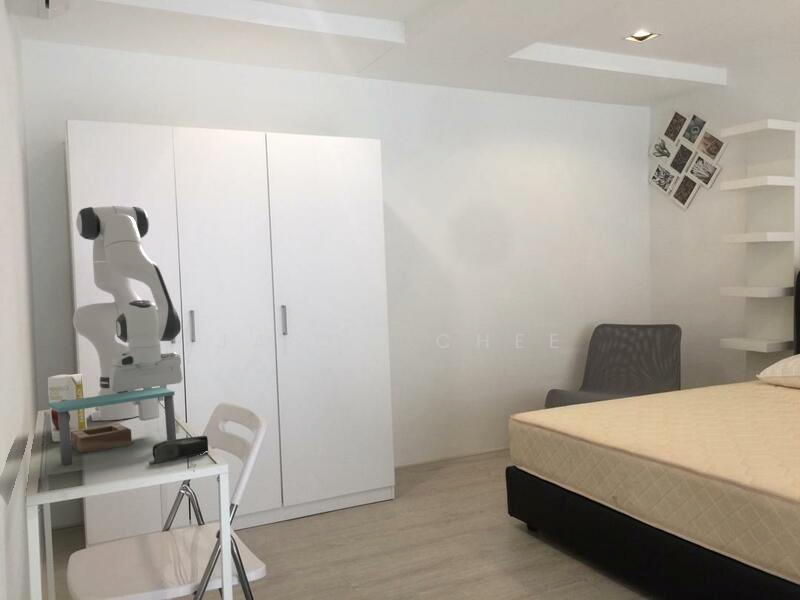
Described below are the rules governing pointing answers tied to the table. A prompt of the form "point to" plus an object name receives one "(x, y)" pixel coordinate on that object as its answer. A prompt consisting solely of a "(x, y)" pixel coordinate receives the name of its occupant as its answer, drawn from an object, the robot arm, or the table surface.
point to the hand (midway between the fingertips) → (148, 402)
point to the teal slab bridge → (109, 399)
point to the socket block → (101, 437)
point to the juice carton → (66, 390)
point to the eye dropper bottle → (148, 408)
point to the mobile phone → (179, 449)
